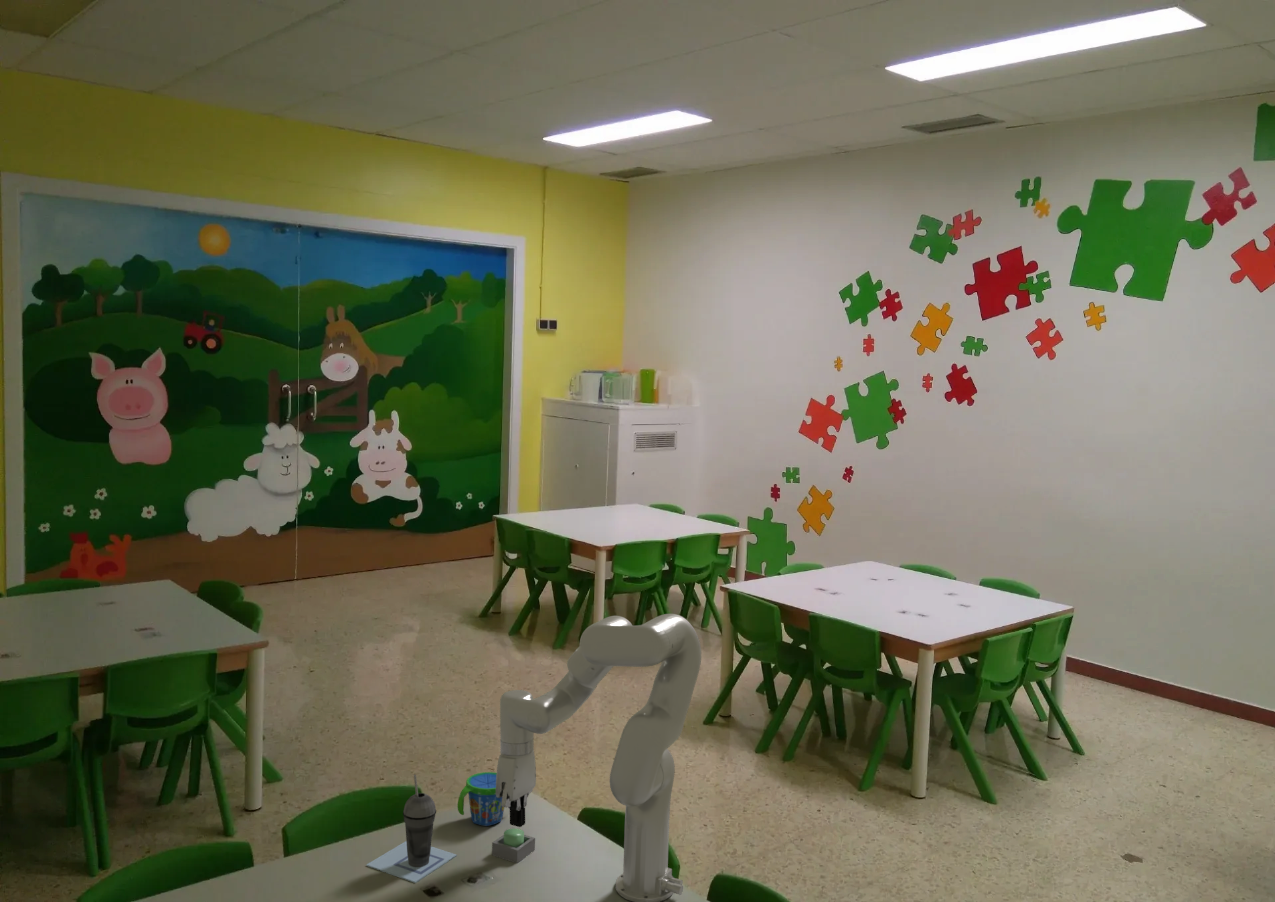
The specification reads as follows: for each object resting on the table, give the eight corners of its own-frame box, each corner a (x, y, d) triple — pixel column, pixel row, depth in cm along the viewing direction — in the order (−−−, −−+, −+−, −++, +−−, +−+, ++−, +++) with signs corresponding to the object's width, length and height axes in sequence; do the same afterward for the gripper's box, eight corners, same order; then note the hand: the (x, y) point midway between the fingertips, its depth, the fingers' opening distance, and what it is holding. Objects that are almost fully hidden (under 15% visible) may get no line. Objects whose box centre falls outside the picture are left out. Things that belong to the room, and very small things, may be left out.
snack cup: (506, 805, 249) (507, 766, 249) (525, 821, 241) (526, 781, 240) (448, 818, 241) (449, 778, 240) (466, 836, 232) (467, 794, 231)
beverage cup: (431, 871, 215) (432, 782, 213) (398, 869, 215) (399, 781, 213) (438, 854, 222) (440, 769, 220) (406, 853, 222) (408, 767, 221)
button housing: (534, 850, 226) (535, 838, 226) (517, 863, 220) (517, 850, 220) (509, 842, 230) (510, 830, 229) (491, 855, 223) (492, 842, 223)
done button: (527, 848, 226) (528, 831, 225) (515, 856, 222) (516, 839, 221) (511, 843, 228) (511, 826, 228) (499, 851, 224) (499, 834, 224)
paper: (456, 856, 222) (456, 854, 222) (415, 883, 210) (415, 881, 210) (409, 840, 229) (409, 839, 229) (366, 865, 217) (366, 864, 217)
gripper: (522, 733, 231) (522, 809, 232) (483, 753, 218) (484, 834, 219) (549, 738, 228) (549, 815, 229) (511, 760, 214) (511, 841, 216)
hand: (517, 824), depth 224 cm, fingers closed
